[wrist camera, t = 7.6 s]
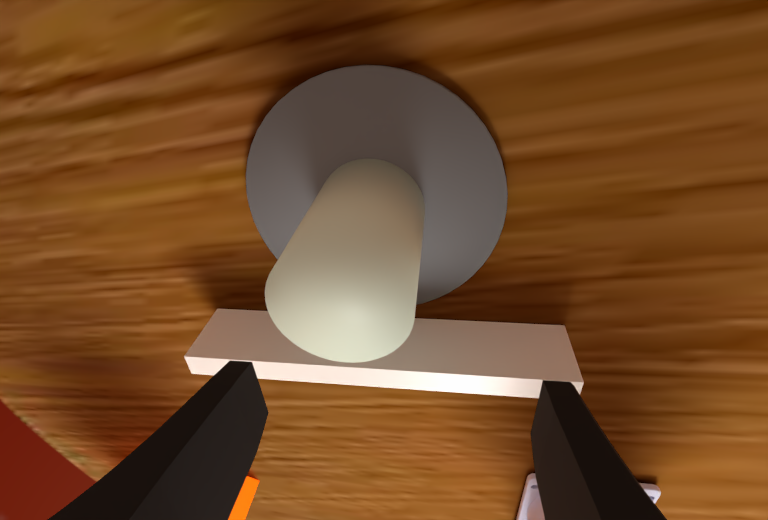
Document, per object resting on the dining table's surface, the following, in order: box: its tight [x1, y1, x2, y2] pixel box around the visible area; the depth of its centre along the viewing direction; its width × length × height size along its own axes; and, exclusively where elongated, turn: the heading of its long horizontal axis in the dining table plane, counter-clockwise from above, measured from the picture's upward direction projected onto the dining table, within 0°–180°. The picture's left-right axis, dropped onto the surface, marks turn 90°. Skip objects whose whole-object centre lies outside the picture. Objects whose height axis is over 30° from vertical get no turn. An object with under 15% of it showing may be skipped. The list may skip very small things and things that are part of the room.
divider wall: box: [184, 309, 584, 398], centre depth 20 cm, size 1×18×4 cm, turn 92°
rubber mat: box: [246, 65, 508, 305], centre depth 18 cm, size 11×11×1 cm
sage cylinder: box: [265, 158, 425, 363], centre depth 15 cm, size 4×4×6 cm
